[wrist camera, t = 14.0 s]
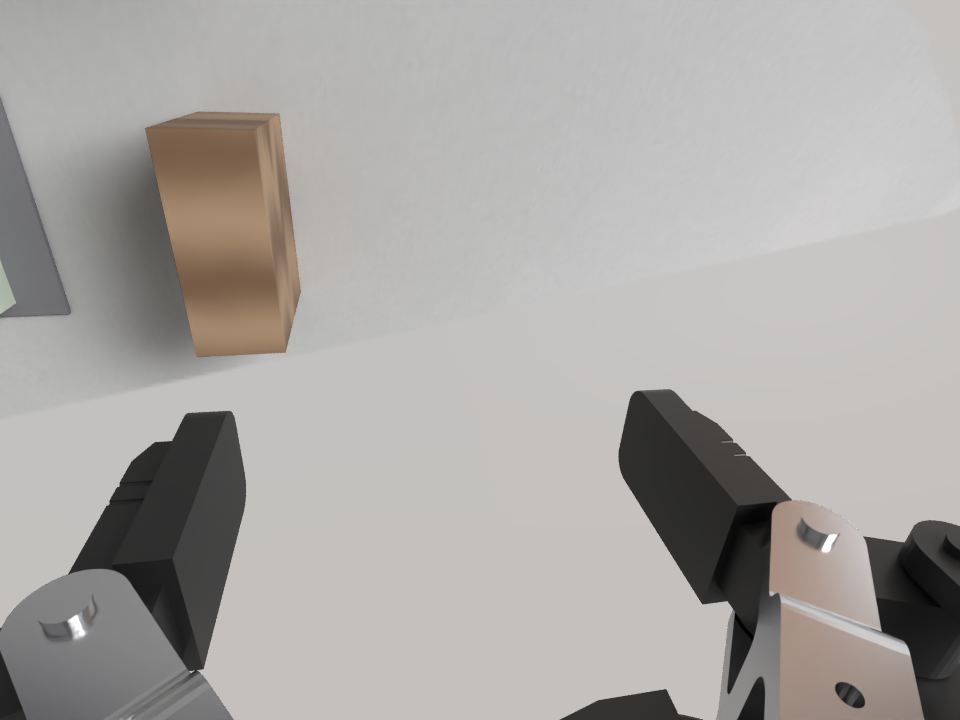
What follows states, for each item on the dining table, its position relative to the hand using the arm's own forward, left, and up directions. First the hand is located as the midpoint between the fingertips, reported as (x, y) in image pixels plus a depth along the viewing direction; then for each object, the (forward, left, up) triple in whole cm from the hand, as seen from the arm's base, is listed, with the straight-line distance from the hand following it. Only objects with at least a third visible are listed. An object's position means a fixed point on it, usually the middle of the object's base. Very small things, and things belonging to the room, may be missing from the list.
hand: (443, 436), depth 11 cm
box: (+2, -9, -31) cm, 32 cm away
